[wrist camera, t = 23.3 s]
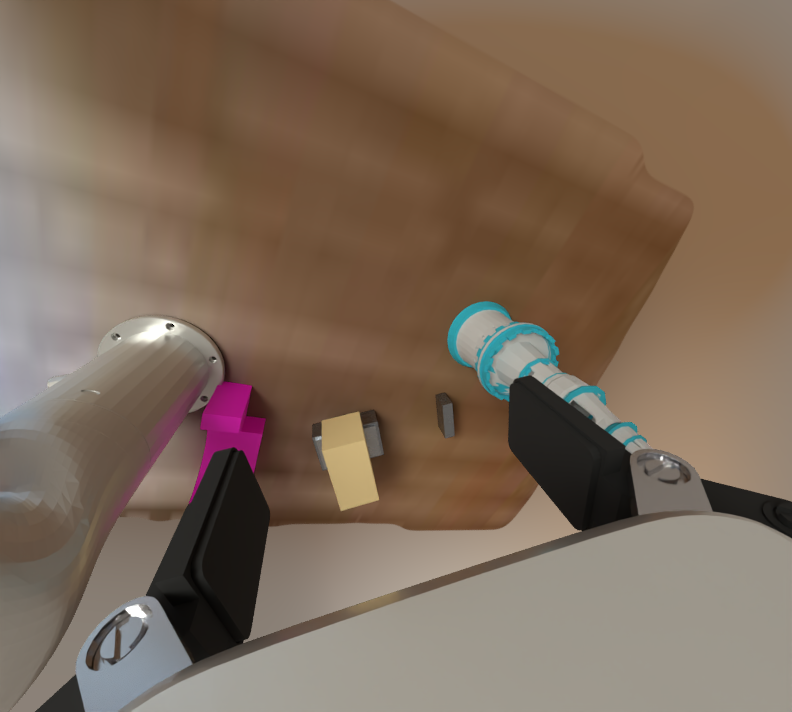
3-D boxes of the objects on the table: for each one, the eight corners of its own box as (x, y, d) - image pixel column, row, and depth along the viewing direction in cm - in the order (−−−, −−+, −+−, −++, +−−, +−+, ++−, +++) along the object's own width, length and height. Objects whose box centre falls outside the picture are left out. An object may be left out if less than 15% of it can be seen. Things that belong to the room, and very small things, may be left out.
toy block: (252, 477, 46) (243, 521, 40) (204, 474, 44) (186, 520, 37) (272, 388, 42) (265, 421, 35) (220, 380, 40) (202, 413, 33)
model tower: (493, 373, 48) (708, 568, 22) (436, 358, 45) (607, 565, 18) (524, 313, 45) (819, 453, 19) (465, 292, 42) (721, 424, 15)
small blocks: (322, 456, 48) (322, 472, 45) (312, 424, 45) (312, 439, 42) (447, 424, 50) (455, 437, 47) (444, 392, 48) (453, 404, 45)
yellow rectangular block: (341, 486, 46) (344, 521, 41) (321, 420, 41) (321, 451, 36) (374, 476, 47) (381, 510, 42) (359, 411, 42) (364, 439, 37)
